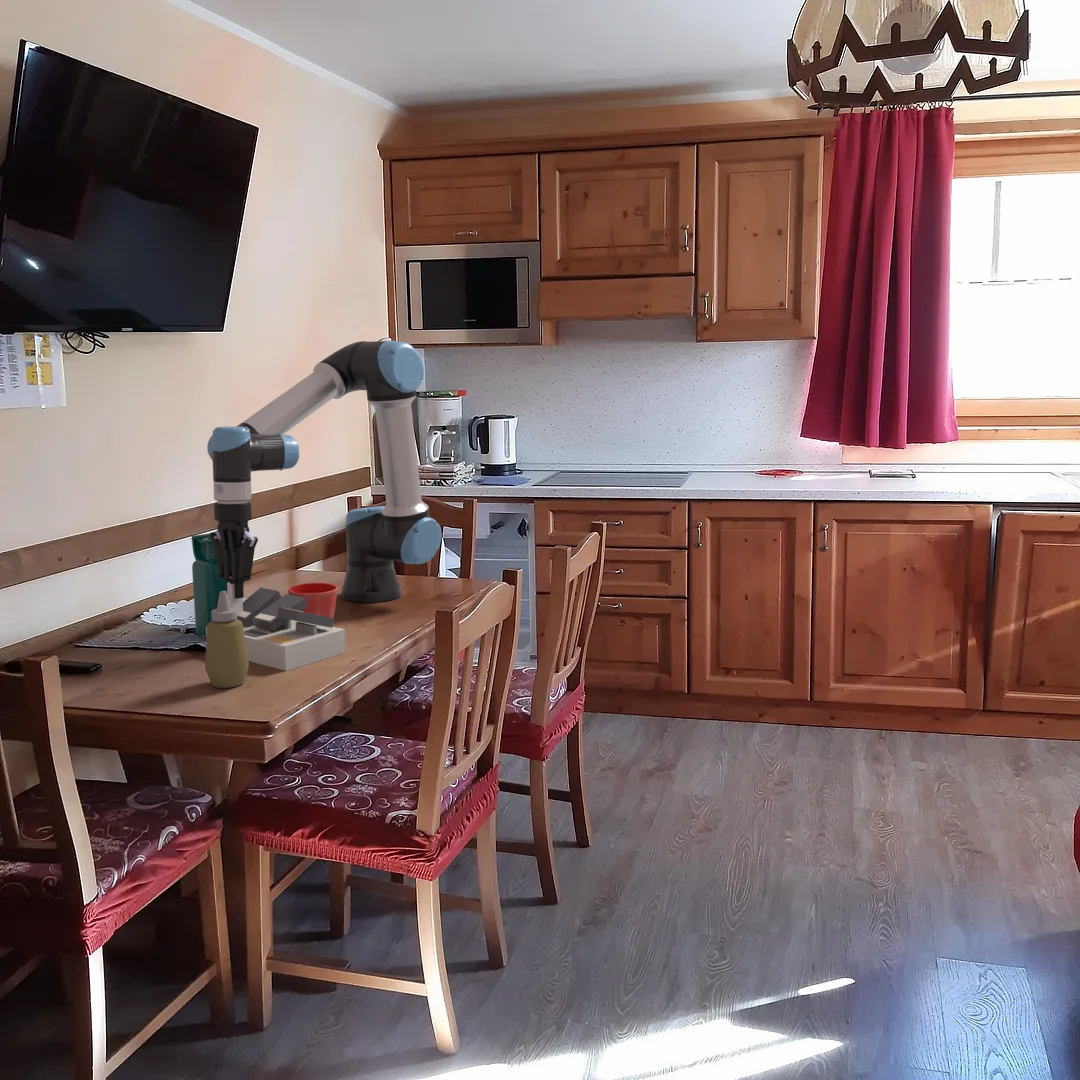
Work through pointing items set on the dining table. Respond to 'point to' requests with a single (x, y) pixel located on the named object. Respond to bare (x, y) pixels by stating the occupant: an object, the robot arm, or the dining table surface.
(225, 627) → the squeeze bottle
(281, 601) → the rocker
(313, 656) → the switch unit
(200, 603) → the pitcher
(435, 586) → the dining table surface
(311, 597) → the flower pot
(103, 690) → the dining table surface
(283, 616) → the rocker
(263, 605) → the rocker
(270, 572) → the dining table surface
